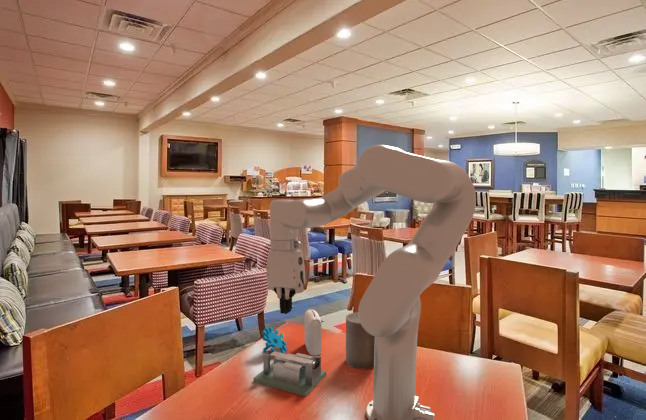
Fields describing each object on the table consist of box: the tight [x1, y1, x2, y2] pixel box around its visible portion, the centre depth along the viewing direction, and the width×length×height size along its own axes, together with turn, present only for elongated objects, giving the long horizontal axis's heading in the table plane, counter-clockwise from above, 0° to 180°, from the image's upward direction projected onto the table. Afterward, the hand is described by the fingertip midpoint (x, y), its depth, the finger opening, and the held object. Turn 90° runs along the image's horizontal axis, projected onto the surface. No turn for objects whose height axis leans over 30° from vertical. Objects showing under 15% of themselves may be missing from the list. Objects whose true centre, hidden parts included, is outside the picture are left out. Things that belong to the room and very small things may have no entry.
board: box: [252, 361, 327, 397], centre depth 106 cm, size 16×12×1 cm
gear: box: [261, 326, 288, 354], centre depth 122 cm, size 11×6×10 cm
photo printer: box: [304, 309, 322, 356], centre depth 124 cm, size 10×4×12 cm, turn 13°
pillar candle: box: [345, 311, 375, 370], centre depth 115 cm, size 10×10×15 cm
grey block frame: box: [262, 346, 322, 386], centre depth 105 cm, size 15×8×6 cm, turn 64°
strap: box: [270, 351, 318, 367], centre depth 105 cm, size 14×3×1 cm, turn 64°
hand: (286, 312), depth 105 cm, fingers closed
